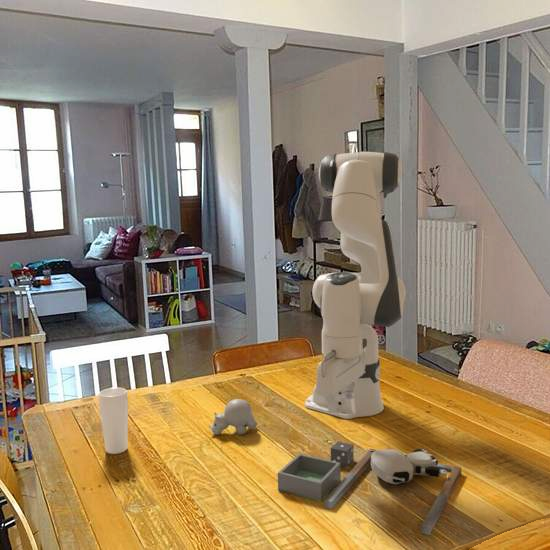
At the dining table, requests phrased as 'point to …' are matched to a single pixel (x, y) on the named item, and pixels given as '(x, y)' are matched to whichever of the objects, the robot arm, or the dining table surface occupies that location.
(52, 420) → the dining table surface
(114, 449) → the drinking glass
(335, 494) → the track
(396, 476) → the robot toy
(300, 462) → the tray
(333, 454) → the die
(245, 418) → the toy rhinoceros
